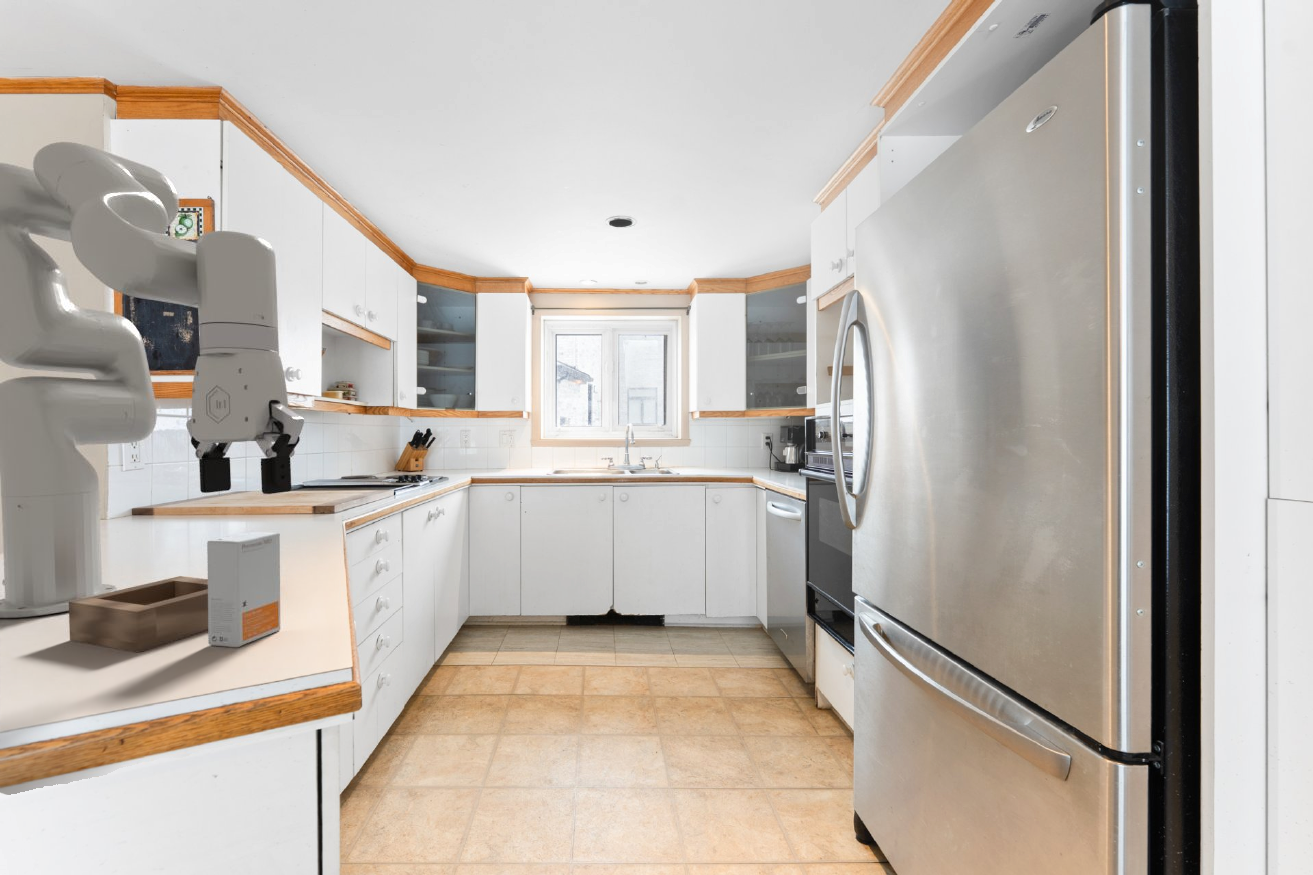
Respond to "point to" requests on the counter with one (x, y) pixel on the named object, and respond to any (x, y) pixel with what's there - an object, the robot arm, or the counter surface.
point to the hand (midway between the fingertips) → (245, 492)
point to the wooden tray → (142, 614)
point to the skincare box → (243, 588)
